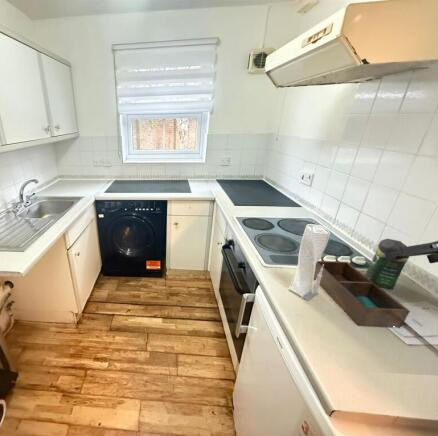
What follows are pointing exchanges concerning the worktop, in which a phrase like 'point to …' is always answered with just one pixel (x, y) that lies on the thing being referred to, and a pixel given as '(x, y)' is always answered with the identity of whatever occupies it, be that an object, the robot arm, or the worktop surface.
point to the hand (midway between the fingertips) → (407, 258)
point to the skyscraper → (309, 261)
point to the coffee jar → (386, 265)
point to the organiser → (360, 296)
